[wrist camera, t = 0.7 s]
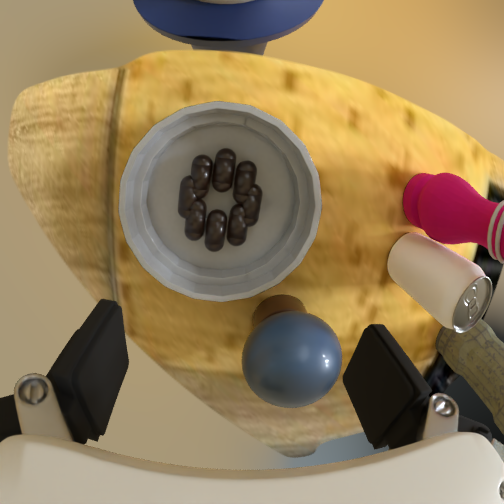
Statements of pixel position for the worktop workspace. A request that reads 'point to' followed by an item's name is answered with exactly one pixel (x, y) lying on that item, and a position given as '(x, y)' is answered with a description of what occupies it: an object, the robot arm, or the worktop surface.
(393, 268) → the can
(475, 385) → the moai statue figurine
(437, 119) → the worktop surface
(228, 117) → the bowl
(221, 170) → the chocolate capsule cluster
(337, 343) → the ball stand
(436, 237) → the pepper mill
